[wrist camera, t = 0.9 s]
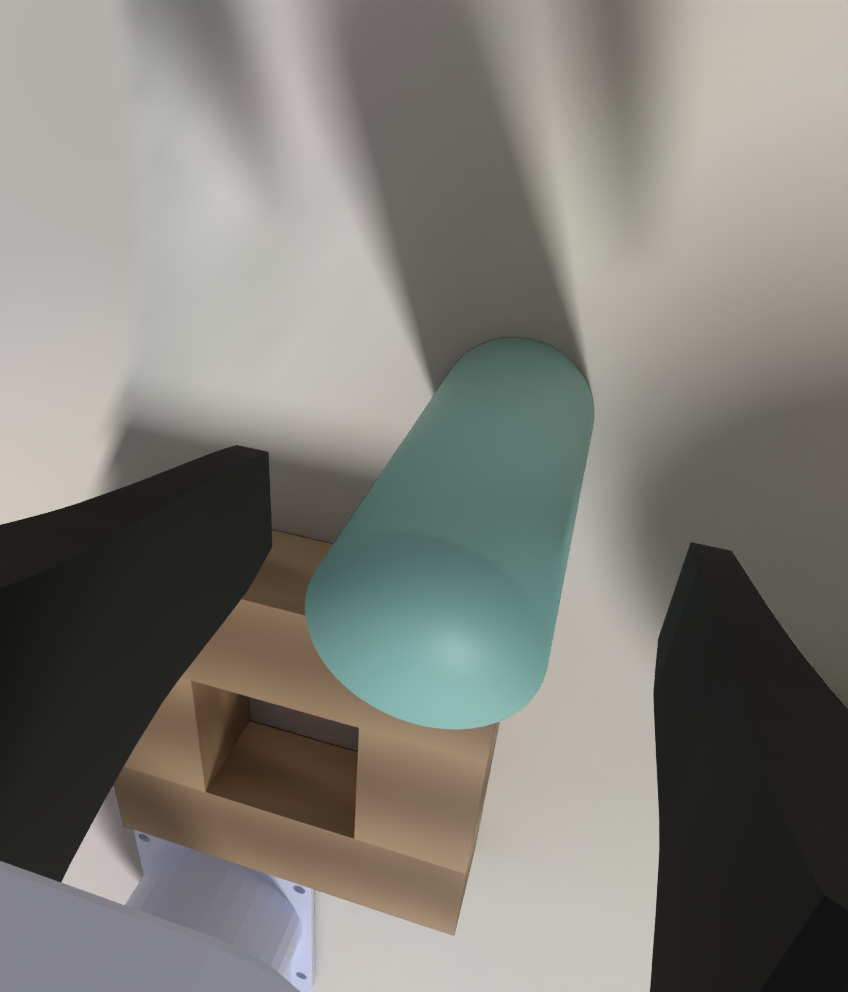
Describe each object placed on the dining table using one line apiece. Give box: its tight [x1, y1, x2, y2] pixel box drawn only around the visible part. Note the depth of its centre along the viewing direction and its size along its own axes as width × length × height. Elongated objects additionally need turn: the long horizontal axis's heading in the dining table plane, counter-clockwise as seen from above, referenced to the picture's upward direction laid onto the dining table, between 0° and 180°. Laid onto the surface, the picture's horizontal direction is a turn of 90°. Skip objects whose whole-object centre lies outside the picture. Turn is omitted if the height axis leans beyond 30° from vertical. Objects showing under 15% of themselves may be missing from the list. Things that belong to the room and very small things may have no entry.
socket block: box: [114, 530, 500, 936], centre depth 23 cm, size 12×12×3 cm
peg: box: [305, 338, 594, 729], centre depth 14 cm, size 4×4×8 cm
